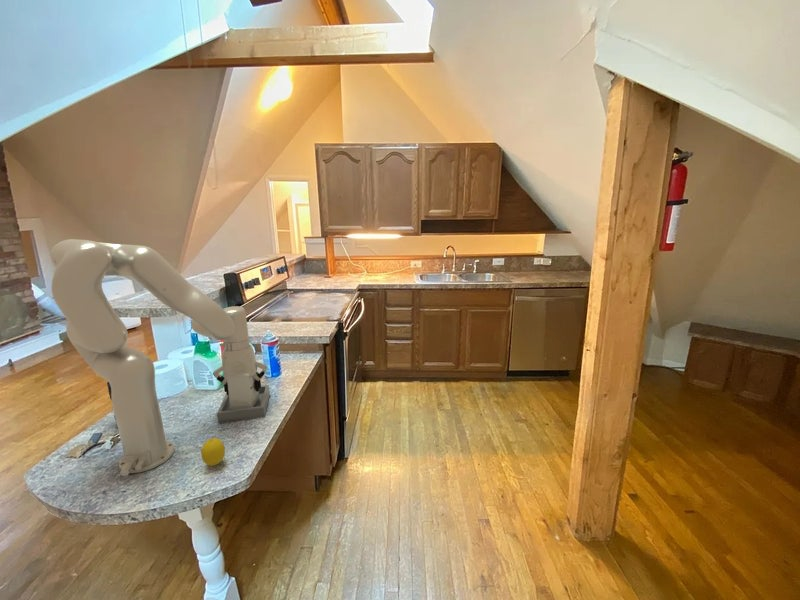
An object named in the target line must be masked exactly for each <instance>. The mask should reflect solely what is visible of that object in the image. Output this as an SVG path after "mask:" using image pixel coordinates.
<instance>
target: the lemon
mask: <svg viewBox="0 0 800 600" xmlns="http://www.w3.org/2000/svg"><path fill="white" fill-rule="evenodd" d="M200 455H201V459H202V461H203V462H204V463H205V465H206V466H207V465H208V466H211V467H212V466H217V465H218V464H220V463H221V462H222V461H223V459H224V458H225V456H226V448H225V445H224V443H223V441H222V440H221V439H220V438H216V437H213V438H212V437H211V438H209V439H208V440H206V441H205V442H204V443H203V444H202V447H201V453H200Z"/></svg>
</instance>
